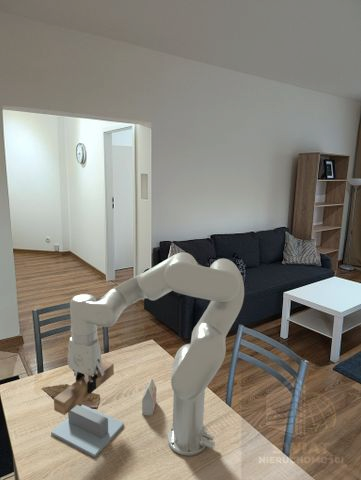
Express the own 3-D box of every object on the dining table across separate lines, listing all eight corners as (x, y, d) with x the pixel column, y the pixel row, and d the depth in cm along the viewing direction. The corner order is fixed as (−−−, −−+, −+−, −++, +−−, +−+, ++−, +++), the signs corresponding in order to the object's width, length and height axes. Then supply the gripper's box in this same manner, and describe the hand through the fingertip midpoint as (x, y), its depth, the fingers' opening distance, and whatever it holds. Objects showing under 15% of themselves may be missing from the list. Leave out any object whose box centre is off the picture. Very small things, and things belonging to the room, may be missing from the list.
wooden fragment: (107, 398, 121) (107, 396, 121) (87, 418, 111) (87, 415, 111) (55, 379, 132) (55, 376, 131) (33, 395, 122) (33, 393, 122)
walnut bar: (64, 415, 93) (64, 402, 92) (54, 410, 94) (53, 398, 94) (113, 374, 112) (113, 363, 111) (104, 370, 114) (104, 360, 113)
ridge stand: (123, 425, 108) (123, 409, 107) (95, 457, 96) (94, 440, 95) (82, 407, 116) (82, 392, 115) (51, 434, 104) (50, 418, 103)
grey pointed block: (142, 414, 114) (142, 389, 111) (146, 401, 120) (146, 376, 118) (152, 415, 113) (152, 390, 111) (156, 402, 120) (156, 377, 118)
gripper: (54, 333, 99) (57, 386, 103) (97, 348, 92) (99, 404, 96) (73, 323, 106) (75, 374, 110) (114, 336, 99) (115, 390, 103)
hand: (86, 387), depth 103 cm, fingers closed on walnut bar, 4 cm apart
